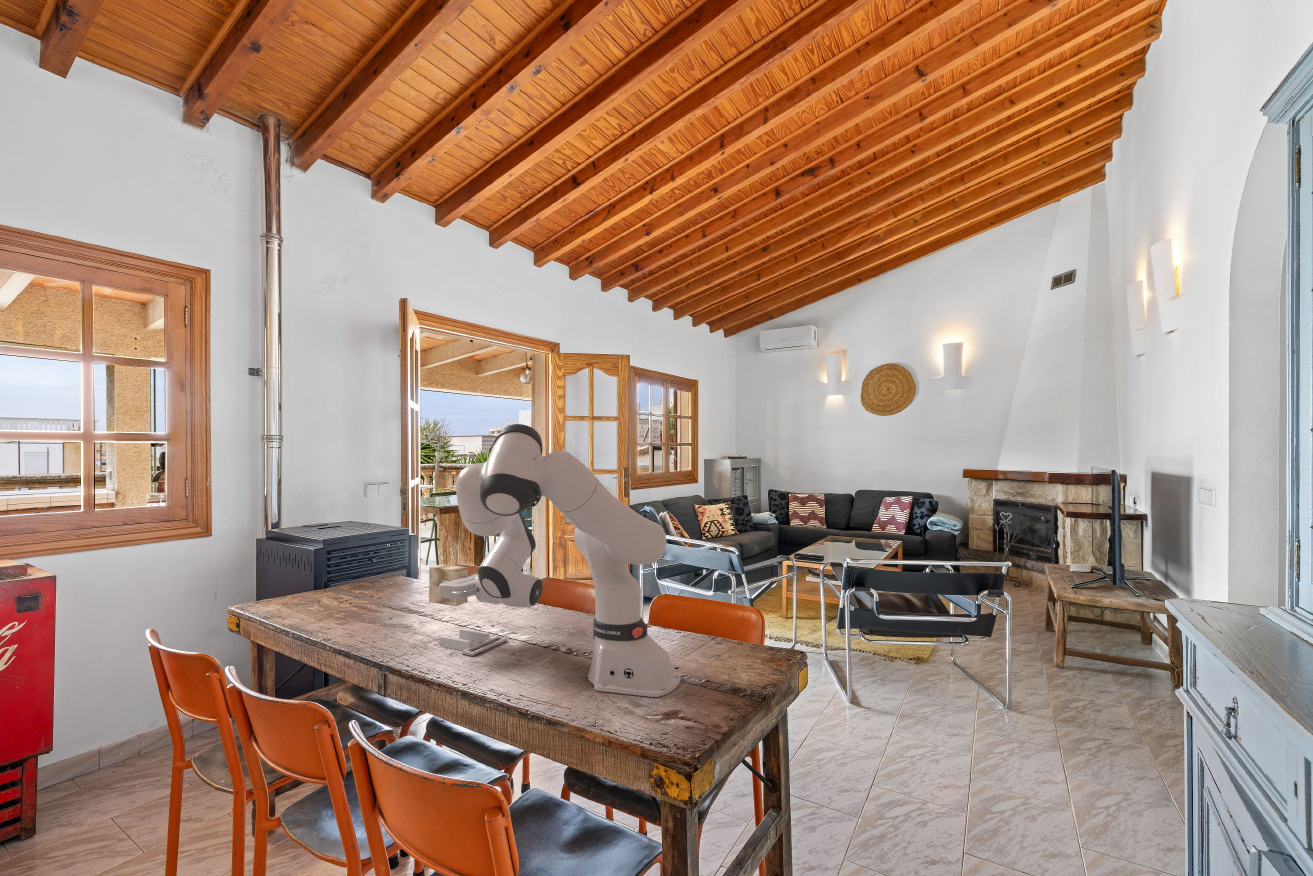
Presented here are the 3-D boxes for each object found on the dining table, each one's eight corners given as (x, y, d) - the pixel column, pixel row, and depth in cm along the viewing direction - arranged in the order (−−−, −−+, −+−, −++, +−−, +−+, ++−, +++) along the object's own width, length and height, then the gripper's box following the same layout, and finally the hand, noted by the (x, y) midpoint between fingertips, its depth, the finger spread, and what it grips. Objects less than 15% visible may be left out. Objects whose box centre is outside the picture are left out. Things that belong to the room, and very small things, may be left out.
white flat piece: (489, 641, 168) (489, 633, 168) (467, 651, 160) (467, 642, 160) (462, 636, 173) (462, 628, 173) (439, 646, 165) (439, 636, 165)
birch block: (467, 602, 169) (467, 567, 169) (456, 606, 165) (456, 570, 165) (440, 598, 173) (441, 564, 174) (429, 602, 169) (429, 567, 170)
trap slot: (506, 641, 169) (506, 637, 169) (472, 656, 156) (472, 653, 156) (497, 639, 171) (497, 636, 171) (462, 654, 158) (462, 650, 158)
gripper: (462, 607, 154) (422, 600, 159) (512, 590, 172) (475, 585, 178) (463, 582, 154) (423, 577, 160) (513, 568, 172) (475, 564, 178)
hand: (451, 581), depth 169 cm, fingers closed on birch block, 4 cm apart
